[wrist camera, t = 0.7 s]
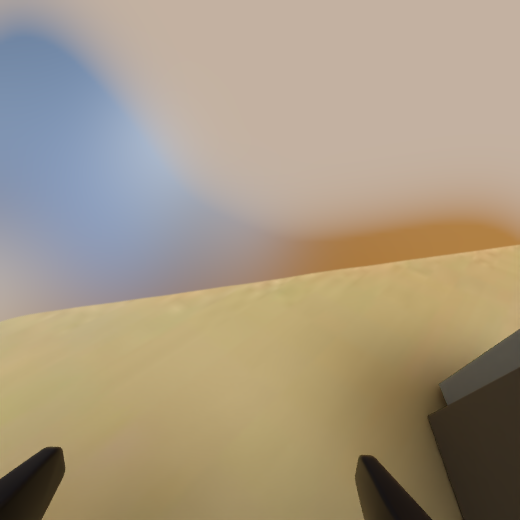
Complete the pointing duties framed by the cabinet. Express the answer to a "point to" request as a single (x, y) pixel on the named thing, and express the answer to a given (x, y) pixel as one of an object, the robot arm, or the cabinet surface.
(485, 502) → the grey cube with panel
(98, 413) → the cabinet surface
